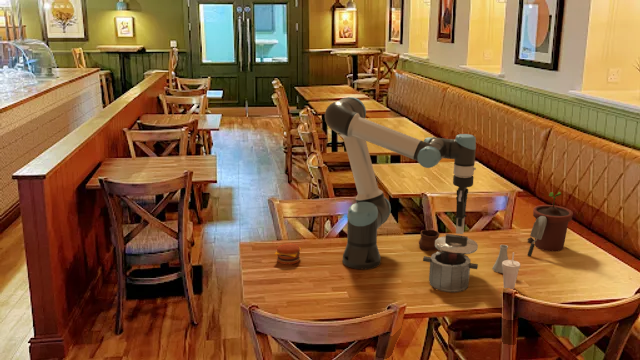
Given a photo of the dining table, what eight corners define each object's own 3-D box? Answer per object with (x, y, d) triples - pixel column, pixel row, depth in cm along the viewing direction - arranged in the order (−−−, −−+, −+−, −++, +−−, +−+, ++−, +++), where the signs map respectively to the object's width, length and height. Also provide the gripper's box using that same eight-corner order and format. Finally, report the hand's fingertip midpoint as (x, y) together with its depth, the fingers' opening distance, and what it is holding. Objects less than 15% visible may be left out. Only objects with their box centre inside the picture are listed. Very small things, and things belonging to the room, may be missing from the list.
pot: (418, 287, 227) (419, 262, 224) (426, 272, 240) (427, 248, 237) (472, 296, 220) (475, 270, 218) (478, 280, 233) (480, 255, 230)
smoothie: (508, 293, 223) (512, 256, 219) (496, 285, 229) (499, 250, 225) (521, 289, 226) (525, 253, 222) (509, 282, 231) (512, 247, 227)
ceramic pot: (425, 236, 276) (426, 221, 274) (458, 248, 264) (459, 232, 261) (399, 247, 264) (399, 232, 262) (432, 260, 252) (433, 244, 250)
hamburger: (296, 265, 245) (296, 250, 243) (273, 263, 248) (273, 248, 246) (303, 256, 254) (303, 241, 252) (280, 254, 256) (280, 239, 254)
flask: (512, 274, 238) (514, 250, 235) (492, 273, 239) (494, 248, 237) (510, 267, 245) (512, 243, 242) (491, 265, 246) (493, 241, 243)
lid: (430, 250, 234) (431, 240, 232) (439, 236, 248) (439, 226, 247) (474, 257, 228) (475, 246, 227) (480, 241, 242) (480, 231, 241)
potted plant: (578, 254, 257) (585, 196, 250) (528, 256, 254) (534, 198, 247) (556, 238, 274) (563, 183, 267) (509, 240, 271) (515, 185, 264)
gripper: (471, 180, 230) (466, 240, 236) (476, 171, 241) (471, 228, 248) (450, 178, 232) (447, 237, 239) (456, 169, 244) (452, 226, 250)
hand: (459, 233), depth 243 cm, fingers closed
